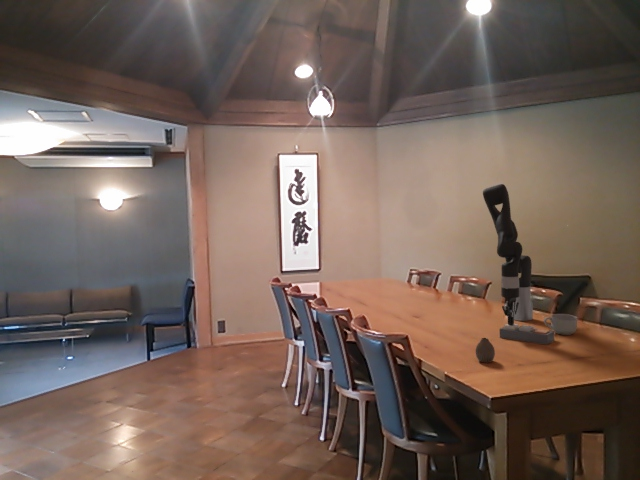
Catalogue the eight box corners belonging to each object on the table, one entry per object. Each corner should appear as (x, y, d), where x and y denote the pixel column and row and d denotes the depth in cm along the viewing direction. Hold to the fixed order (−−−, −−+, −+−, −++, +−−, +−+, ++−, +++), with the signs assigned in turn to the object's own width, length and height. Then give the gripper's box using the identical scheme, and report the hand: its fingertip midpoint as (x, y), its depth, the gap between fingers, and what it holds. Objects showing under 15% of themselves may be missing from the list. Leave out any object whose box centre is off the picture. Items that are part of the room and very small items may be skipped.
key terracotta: (549, 336, 208) (549, 330, 207) (545, 338, 204) (545, 332, 204) (538, 334, 211) (538, 329, 211) (534, 337, 207) (534, 331, 207)
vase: (472, 359, 186) (472, 336, 186) (490, 358, 187) (489, 335, 186) (480, 364, 179) (479, 341, 179) (498, 363, 180) (497, 340, 180)
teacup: (575, 331, 222) (575, 313, 222) (579, 336, 212) (579, 318, 212) (542, 329, 227) (542, 313, 227) (544, 335, 217) (544, 317, 216)
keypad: (554, 340, 208) (554, 331, 208) (547, 344, 202) (547, 335, 202) (507, 333, 222) (507, 325, 222) (499, 337, 216) (499, 328, 216)
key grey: (533, 331, 212) (533, 326, 212) (529, 334, 209) (529, 328, 209) (523, 330, 215) (522, 325, 215) (519, 332, 212) (518, 327, 212)
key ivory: (518, 329, 216) (518, 324, 216) (514, 332, 213) (514, 326, 213) (508, 328, 220) (508, 323, 220) (504, 330, 216) (504, 325, 216)
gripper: (508, 283, 223) (508, 321, 224) (495, 287, 213) (496, 326, 214) (524, 285, 218) (525, 323, 218) (512, 288, 208) (513, 328, 209)
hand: (510, 324), depth 216 cm, fingers closed
